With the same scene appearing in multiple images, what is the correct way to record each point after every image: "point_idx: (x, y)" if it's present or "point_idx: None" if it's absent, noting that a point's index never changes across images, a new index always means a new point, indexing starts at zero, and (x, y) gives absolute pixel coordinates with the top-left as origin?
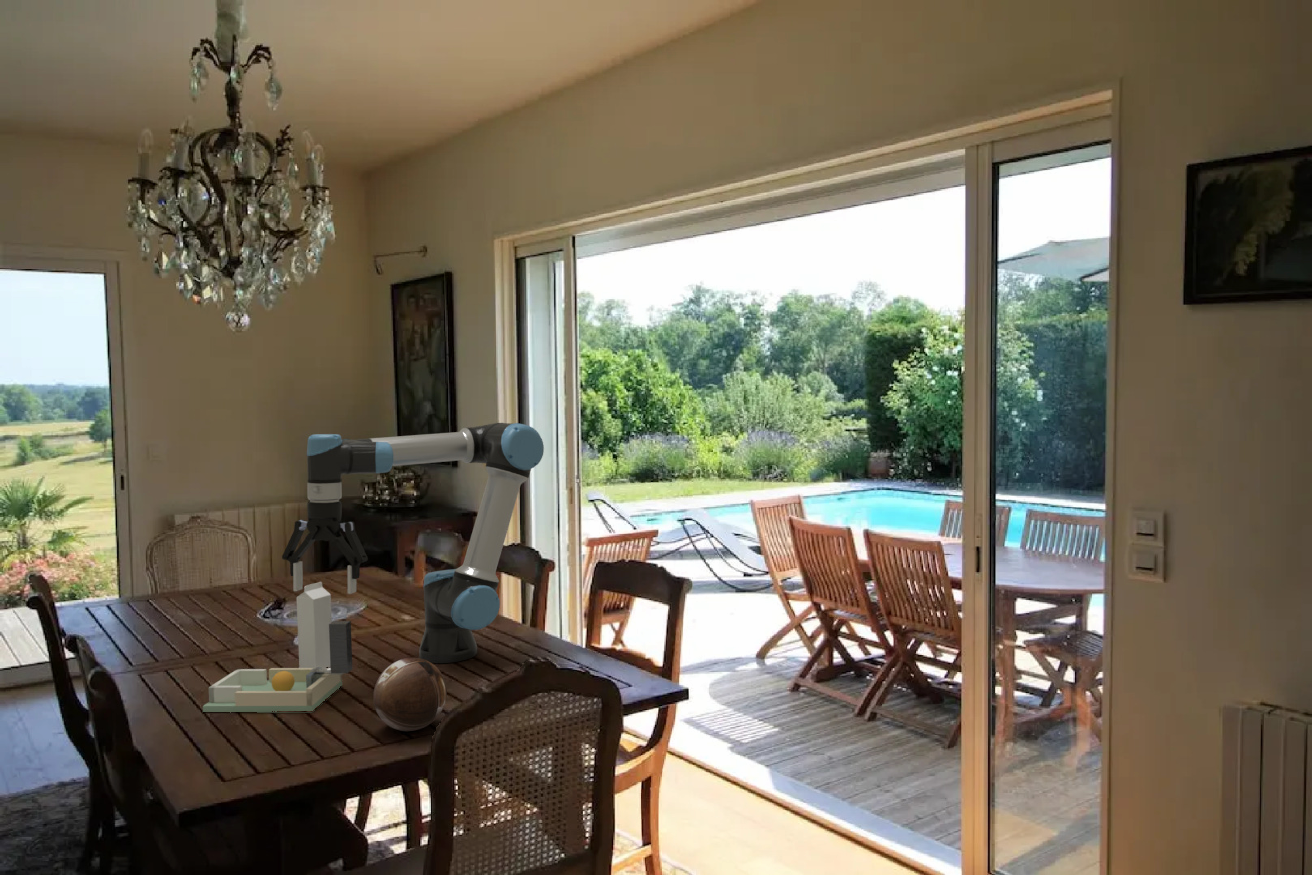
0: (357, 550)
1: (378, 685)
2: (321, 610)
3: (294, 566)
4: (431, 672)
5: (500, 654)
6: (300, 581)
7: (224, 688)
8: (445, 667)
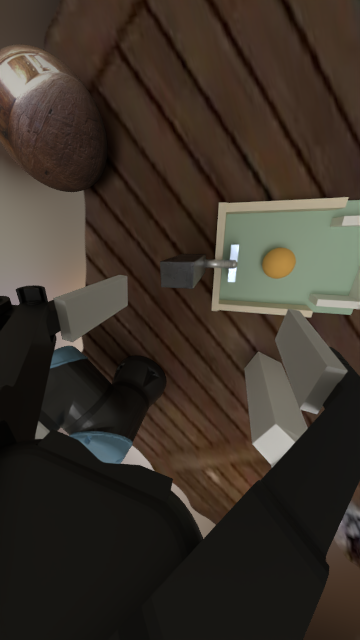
0: None
1: (58, 67)
2: (261, 413)
3: (331, 358)
4: None
5: (102, 370)
6: (285, 342)
7: None
8: (132, 345)
